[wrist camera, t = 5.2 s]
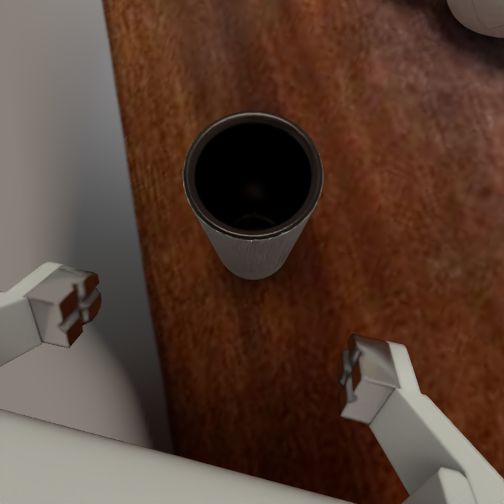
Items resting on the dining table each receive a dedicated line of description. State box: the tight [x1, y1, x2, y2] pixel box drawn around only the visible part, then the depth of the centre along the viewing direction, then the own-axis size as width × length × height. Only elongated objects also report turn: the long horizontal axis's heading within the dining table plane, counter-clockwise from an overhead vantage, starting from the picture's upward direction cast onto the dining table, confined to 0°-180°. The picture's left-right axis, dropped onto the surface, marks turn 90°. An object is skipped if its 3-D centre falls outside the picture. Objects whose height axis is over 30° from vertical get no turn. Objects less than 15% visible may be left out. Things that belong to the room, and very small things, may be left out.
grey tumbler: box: [183, 111, 323, 280], centre depth 15 cm, size 4×4×10 cm
